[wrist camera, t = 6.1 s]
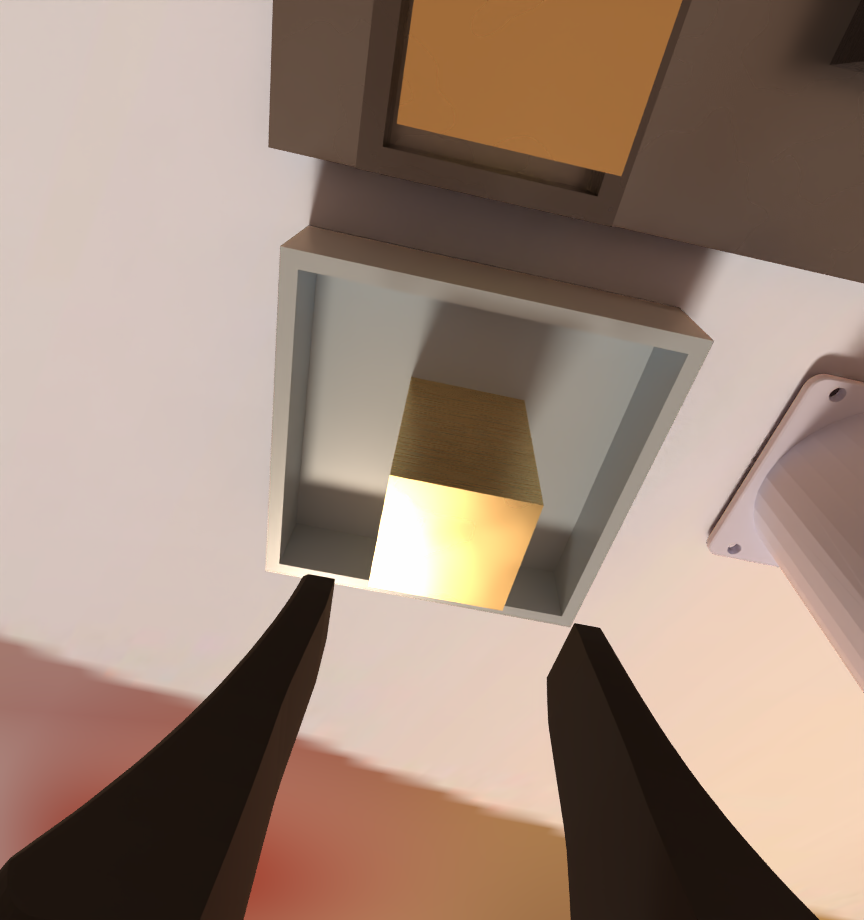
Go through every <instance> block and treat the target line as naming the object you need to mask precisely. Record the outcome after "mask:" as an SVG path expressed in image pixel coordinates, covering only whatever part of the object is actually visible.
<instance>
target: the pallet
mask: <svg viewBox="0 0 864 920" xmlns="http://www.w3.org/2000/svg"><path fill="white" fill-rule="evenodd" d="M413 3H414V0H273V19H272V51H271V83H270V115H269V147H270V148H274V149H279V150H283V151H287V152H292V153H296V154H301V155H305V156H309V157H314V158H318V159H322V160H327V161H331V162H336V163H340V164H344V165H349V166H353V167H355V168H357V169H361V170H365V171H370V172H374V173H378V174H383V175H387V176H392V177H396V178H400V179H405V180H409V181H413V182H418V183H422V184H427V185H431V186H435V187H440V188H444V189H448V190H453V191H457V192H462V193H466V194H470V195H475V196H479V197H483V198H488V199H492V200H497V201H501V202H505V203H510V204H514V205H518V206H523V207H527V208H532V209H536V210H540V211H545V212H549V213H553V214H558V215H562V216H567V217H571V218H575V219H580V220H584V221H588V222H593V223H597V224H602V225H606V226H610V227H612V226H615V227H620V228H624V229H629V230H633V231H637V232H642V233H646V234H650V235H655V236H659V237H663V238H668V239H672V240H677V241H681V242H685V243H690V244H694V245H698V246H703V247H707V248H712V249H716V250H720V251H725V252H729V253H733V254H738V255H742V256H747V257H751V258H755V259H760V260H764V261H768V262H773V263H777V264H782V265H786V266H790V267H795V268H799V269H803V270H808V271H812V272H817V273H821V274H825V275H830V276H834V277H838V278H843V279H847V280H852V281H856V282H860V283H864V0H682V3H681V6H680V9H679V12H678V14H677V17H676V20H675V23H674V26H673V29H672V32H671V35H670V37H669V40H668V43H667V46H666V49H665V52H664V55H663V58H662V61H661V63H660V66H659V69H658V72H657V75H656V78H655V81H654V84H653V87H652V89H651V92H650V95H649V98H648V101H647V104H646V107H645V110H644V113H643V115H642V118H641V121H640V124H639V127H638V130H637V133H636V136H635V138H634V141H633V144H632V147H631V150H630V153H629V156H628V159H627V162H626V164H625V167H624V170H623V173H622V176H618V175H613V174H609V173H605V172H601V171H596V170H592V169H588V168H584V167H579V166H575V165H571V164H566V163H562V162H558V161H554V160H549V159H545V158H541V157H537V156H532V155H528V154H524V153H520V152H515V151H511V150H507V149H502V148H498V147H494V146H490V145H485V144H481V143H477V142H473V141H468V140H464V139H460V138H455V137H451V136H447V135H443V134H438V133H434V132H430V131H426V130H421V129H417V128H413V127H409V126H404V125H400V124H397V117H398V110H399V103H400V96H401V89H402V82H403V75H404V67H405V60H406V53H407V46H408V39H409V32H410V24H411V17H412V10H413Z"/></svg>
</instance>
